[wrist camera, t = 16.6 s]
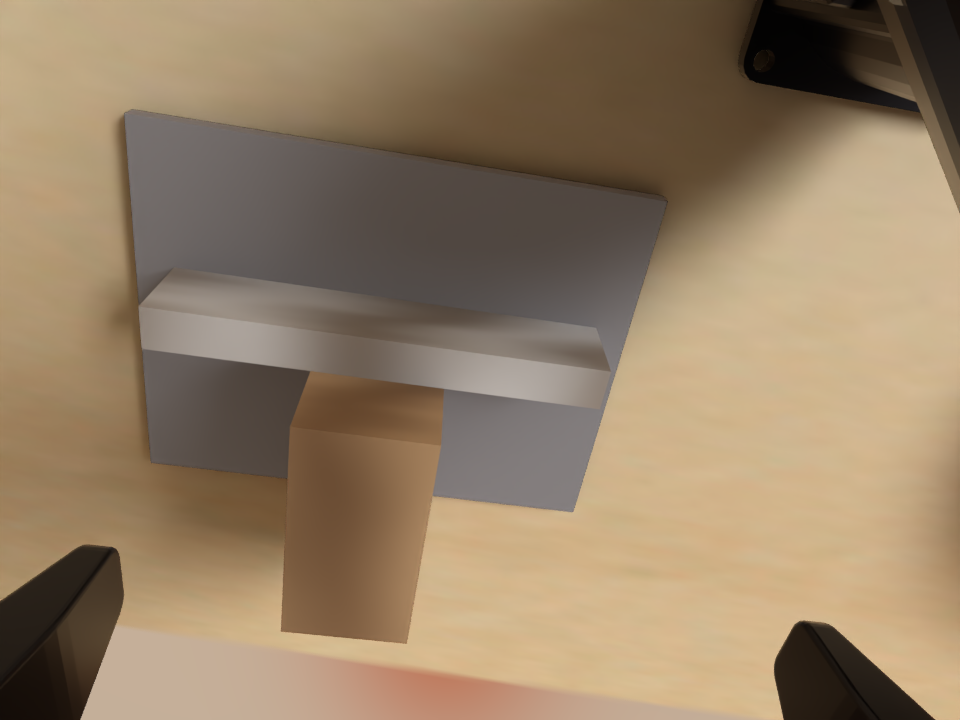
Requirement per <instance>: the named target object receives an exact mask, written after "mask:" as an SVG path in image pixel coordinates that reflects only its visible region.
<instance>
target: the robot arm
mask: <svg viewBox="0 0 960 720" xmlns="http://www.w3.org/2000/svg"><path fill="white" fill-rule="evenodd" d="M762 50H767V52H768V54H769V59H768V62H767V64H766V65H765V66H764V67H763V68H761V69H759V70H756V69H755V67H754V65H753V64H754V58H755V57H756V55H757V53H759V52H760V51H762ZM738 67H739V71H740V72H741V74H742V75H743V76H744V77H745V78H747V79H749V80H752V81H754V82H756V83H761V84H766V85H772V86H777V87H783V88H789V89H794V90H800V91H805V92H811V93H816V94H822V95H827V96H833V97H838V98H844V99H849V100H855V101H860V102H866V103H871V104H877V105H882V106H888V107H893V108H899V109H904V110H910V111H915V112H921V115H922V117H923V120H924V123H925V125H926V128H927V130H928V133H929V135H930V138H931V141H932V143H933V146H934V148H935V151H936V153H937V156H938V159H939V161H940V164H941V166H942V169H943V171H944V174H945V177H946V179H947V182H948V184H949V187H950V190H951V192H952V195H953V197H954V200H955V202H956V205H957V208H958V210H959V213H960V0H757V1H756V4H755V7H754V10H753V13H752V16H751V19H750V23H749V26H748V29H747V32H746V35H745V38H744V41H743V44H742V47H741V51H740V54H739V59H738ZM123 598H124V590H123V581H122V573H121V564H120V556H119V553H118V551H117V550H116V549H115V548H113V547H106V546H97V545H82V546H80V547H78V548H76V549H74V550H73V551H71V552H70V553H69V554H67V555H66V556H64V557H63V558H61V559H60V560H59V561H57V562H56V563H54V564H53V565H51V566H50V567H49V568H47V569H46V570H44V571H43V572H41V573H40V574H39V575H37V576H36V577H34V578H33V579H31V580H30V581H29V582H27V583H26V584H24V585H23V586H21V587H20V588H18V589H17V590H16V591H14V592H13V593H11V594H10V595H8V596H7V597H6V598H4V599H3V600H1V601H0V720H80V719H81V716H82V714H83V711H84V709H85V706H86V703H87V700H88V698H89V695H90V692H91V689H92V687H93V684H94V682H95V679H96V676H97V674H98V671H99V668H100V666H101V663H102V660H103V658H104V655H105V652H106V649H107V647H108V644H109V641H110V639H111V636H112V633H113V631H114V628H115V625H116V623H117V620H118V617H119V615H120V612H121V608H122V604H123ZM774 676H775V681H776V686H777V690H778V695H779V700H780V705H781V709H782V714H783V719H784V720H935V719H934V718H933V717H932V716H930V715H929V714H928V713H927V712H926V711H925V710H924V709H923V708H922V707H921V706H919V705H918V704H917V703H916V702H915V701H914V700H913V699H912V698H911V697H910V696H909V695H907V694H906V693H905V692H904V691H903V690H902V689H901V688H900V687H899V686H898V685H896V684H895V683H894V682H893V681H892V680H891V679H890V678H889V677H888V676H887V675H886V674H884V673H883V672H882V671H881V670H880V669H879V668H878V667H877V666H876V665H875V664H873V663H872V662H871V661H870V660H869V659H868V658H867V657H866V656H865V655H864V654H863V653H861V652H860V651H859V650H858V649H857V648H856V647H855V646H854V645H853V644H852V643H850V642H849V641H848V640H847V639H846V638H845V637H844V636H843V635H842V634H841V633H840V632H838V631H837V630H836V629H835V628H834V627H833V626H831V625H829V624H827V623H822V622H812V621H799V622H798V623H796V624H795V625H794V626H793V628H792V630H791V632H790V633H789V635H788V637H787V639H786V640H785V642H784V644H783V646H782V648H781V649H780V651H779V653H778V655H777V657H776V660H775V664H774Z"/></svg>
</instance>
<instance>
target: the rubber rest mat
mask: <svg viewBox="0 0 960 720" xmlns="http://www.w3.org/2000/svg"><path fill="white" fill-rule="evenodd" d="M124 118H125V131H126V144H127V157H128V171H129V184H130V197H131V210H132V223H133V236H134V249H135V262H136V275H137V288H138V302H139V305H140V304H141V303H142V302H143V301H144V300H145V299H146V298H147V297H148V295H149V294H150V293H151V292H152V291H153V290H154V289H155V288H156V287H157V286H158V285H159V283H160V282H161V281H162V280H163V279H164V278H165V277H166V276H167V275H168V274H169V272H170V271H171V270H172V269H173V268H174V267H176V268H183V269H190V270H197V271H204V272H211V273H218V274H225V275H232V276H239V277H246V278H253V279H260V280H267V281H274V282H280V283H287V284H294V285H301V286H308V287H315V288H322V289H329V290H336V291H343V292H350V293H357V294H364V295H371V296H378V297H385V298H392V299H399V300H406V301H413V302H420V303H427V304H434V305H441V306H447V307H454V308H461V309H468V310H475V311H482V312H489V313H496V314H503V315H510V316H517V317H524V318H531V319H538V320H545V321H552V322H559V323H566V324H573V325H580V326H587V327H594V328H596V329H597V332H598V335H599V338H600V341H601V343H602V346H603V349H604V352H605V355H606V358H607V361H608V364H609V367H610V370H611V374H610V377H609V381H608V384H607V387H606V391H605V394H604V397H603V401H602V404H601V407H600V409H593V408H586V407H578V406H571V405H563V404H555V403H548V402H540V401H533V400H525V399H518V398H510V397H503V396H495V395H487V394H480V393H472V392H465V391H457V390H450V389H444V399H443V419H442V439H441V450H440V455H439V461H438V467H437V473H436V478H435V484H434V490H433V496H439V497H447V498H456V499H464V500H473V501H481V502H490V503H499V504H507V505H516V506H524V507H533V508H541V509H550V510H558V511H567V512H573V511H574V508H575V505H576V501H577V498H578V495H579V492H580V488H581V485H582V482H583V478H584V475H585V472H586V469H587V465H588V462H589V459H590V455H591V452H592V449H593V446H594V442H595V439H596V436H597V432H598V429H599V426H600V423H601V419H602V416H603V413H604V409H605V406H606V403H607V400H608V396H609V393H610V390H611V386H612V383H613V380H614V377H615V373H616V370H617V367H618V363H619V360H620V357H621V354H622V350H623V347H624V344H625V340H626V337H627V334H628V331H629V327H630V324H631V321H632V317H633V314H634V311H635V308H636V304H637V301H638V298H639V294H640V291H641V288H642V285H643V281H644V278H645V275H646V271H647V268H648V265H649V262H650V258H651V255H652V252H653V248H654V245H655V242H656V239H657V235H658V232H659V229H660V225H661V222H662V219H663V216H664V212H665V209H666V206H667V202H668V201H667V200H666V199H665V198H664V196H660V195H654V194H648V193H642V192H636V191H629V190H623V189H617V188H611V187H605V186H599V185H593V184H587V183H580V182H574V181H568V180H562V179H556V178H550V177H544V176H538V175H531V174H525V173H519V172H513V171H507V170H501V169H495V168H489V167H483V166H476V165H470V164H464V163H458V162H452V161H446V160H440V159H434V158H427V157H421V156H415V155H409V154H403V153H397V152H391V151H385V150H378V149H372V148H366V147H360V146H354V145H348V144H342V143H336V142H330V141H323V140H317V139H311V138H305V137H299V136H293V135H287V134H281V133H274V132H268V131H262V130H256V129H250V128H244V127H238V126H232V125H226V124H219V123H213V122H207V121H201V120H195V119H189V118H183V117H177V116H170V115H164V114H158V113H152V112H146V111H140V110H134V109H132V110H130V111H128V112H126V113H124ZM142 354H143V367H144V380H145V393H146V406H147V419H148V433H149V446H150V459H151V463H158V464H166V465H175V466H183V467H192V468H200V469H209V470H217V471H226V472H234V473H243V474H251V475H260V476H268V477H277V478H285V479H288V460H289V437H290V425H291V423H292V420H293V417H294V414H295V412H296V409H297V406H298V404H299V401H300V398H301V395H302V393H303V390H304V387H305V385H306V382H307V379H308V376H309V374H310V371H306V370H299V369H291V368H283V367H276V366H268V365H261V364H253V363H246V362H238V361H231V360H223V359H215V358H208V357H200V356H193V355H185V354H178V353H170V352H163V351H155V350H147V349H142Z"/></svg>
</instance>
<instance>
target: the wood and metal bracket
mask: <svg viewBox="0 0 960 720" xmlns="http://www.w3.org/2000/svg"><path fill="white" fill-rule="evenodd" d="M138 309H139V322H140V335H141V348H142V349H147V350H155V351H163V352H170V353H178V354H185V355H193V356H200V357H208V358H215V359H223V360H231V361H238V362H246V363H253V364H261V365H268V366H276V367H283V368H291V369H299V370H306V371H310V374H309V376H308V379H307V382H306V385H305V387H304V390H303V393H302V395H301V398H300V401H299V404H298V406H297V409H296V412H295V414H294V417H293V420H292V423H291V425H290V437H289V460H288V482H287V505H286V528H285V551H284V574H283V597H282V620H281V632H291V633H302V634H312V635H322V636H333V637H343V638H353V639H364V640H374V641H384V642H395V643H405V644H407V639H408V633H409V628H410V622H411V616H412V610H413V605H414V599H415V593H416V587H417V582H418V576H419V570H420V564H421V559H422V553H423V547H424V541H425V536H426V530H427V524H428V518H429V513H430V507H431V501H432V496H433V490H434V484H435V478H436V473H437V467H438V461H439V455H440V450H441V439H442V419H443V399H444V389H450V390H457V391H465V392H472V393H480V394H487V395H495V396H503V397H510V398H518V399H525V400H533V401H540V402H548V403H555V404H563V405H571V406H578V407H586V408H593V409H600V407H601V404H602V401H603V397H604V394H605V391H606V387H607V384H608V381H609V377H610V374H611V370H610V367H609V364H608V361H607V358H606V355H605V352H604V349H603V346H602V343H601V341H600V338H599V335H598V332H597V329H596V328H594V327H587V326H580V325H573V324H566V323H559V322H552V321H545V320H538V319H531V318H524V317H517V316H510V315H503V314H496V313H489V312H482V311H475V310H468V309H461V308H454V307H447V306H441V305H434V304H427V303H420V302H413V301H406V300H399V299H392V298H385V297H378V296H371V295H364V294H357V293H350V292H343V291H336V290H329V289H322V288H315V287H308V286H301V285H294V284H287V283H280V282H274V281H267V280H260V279H253V278H246V277H239V276H232V275H225V274H218V273H211V272H204V271H197V270H190V269H183V268H176V267H174V268H173V269H172V270H171V271H170V272H169V274H168V275H167V276H166V277H165V278H164V279H163V280H162V281H161V282H160V283H159V285H158V286H157V287H156V288H155V289H154V290H153V291H152V292H151V293H150V294H149V295H148V297H147V298H146V299H145V300H144V301H143V302H142V303H141V304H140V305H139V306H138Z"/></svg>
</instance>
